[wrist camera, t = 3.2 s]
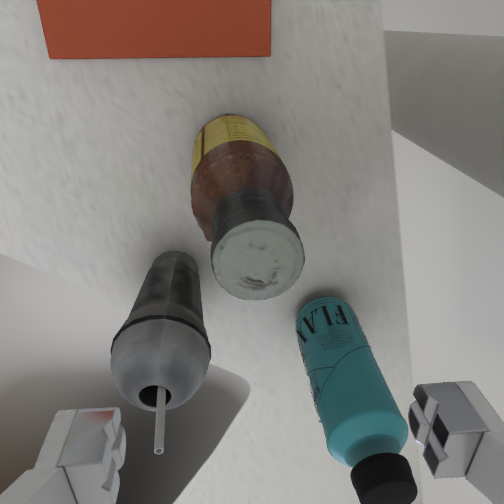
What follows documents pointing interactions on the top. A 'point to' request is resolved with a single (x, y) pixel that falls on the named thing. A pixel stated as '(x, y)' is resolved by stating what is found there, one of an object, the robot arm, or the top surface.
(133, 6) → the condiment mat
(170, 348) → the beverage cup
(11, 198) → the top surface
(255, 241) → the sauce bottle
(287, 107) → the top surface
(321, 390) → the beverage bottle
